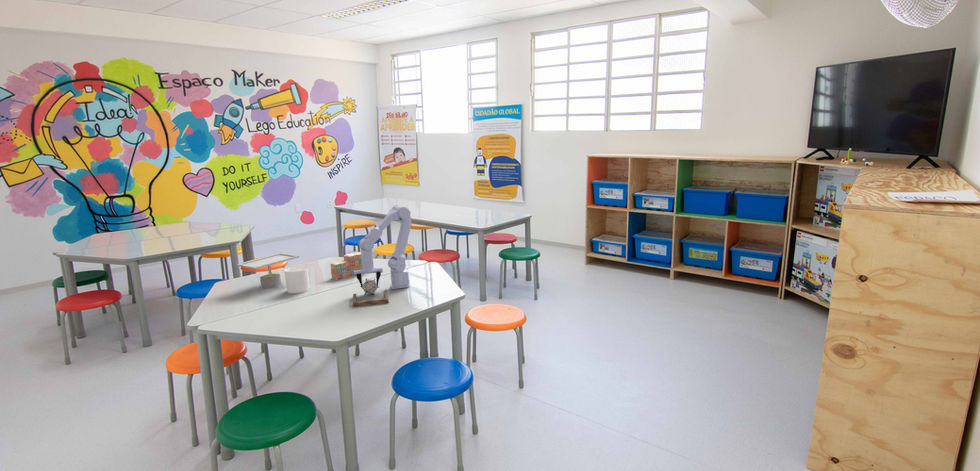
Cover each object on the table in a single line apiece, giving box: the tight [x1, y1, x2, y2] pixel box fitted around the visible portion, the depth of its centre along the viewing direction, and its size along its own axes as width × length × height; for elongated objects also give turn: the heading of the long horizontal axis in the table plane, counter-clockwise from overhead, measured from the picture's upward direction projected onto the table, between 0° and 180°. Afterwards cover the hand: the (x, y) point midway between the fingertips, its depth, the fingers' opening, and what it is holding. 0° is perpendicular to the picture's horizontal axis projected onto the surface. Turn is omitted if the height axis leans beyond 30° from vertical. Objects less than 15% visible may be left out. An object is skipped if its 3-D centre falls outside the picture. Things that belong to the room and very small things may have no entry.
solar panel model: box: [236, 252, 300, 289], centre depth 280 cm, size 28×17×15 cm, turn 148°
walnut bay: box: [352, 289, 390, 308], centre depth 250 cm, size 17×14×2 cm
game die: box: [359, 278, 380, 296], centre depth 259 cm, size 9×8×10 cm
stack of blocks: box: [330, 251, 363, 281], centre depth 296 cm, size 21×6×12 cm, turn 137°
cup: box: [283, 265, 311, 295], centre depth 270 cm, size 12×12×12 cm
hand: (369, 286), depth 261 cm, fingers open, 7 cm apart
